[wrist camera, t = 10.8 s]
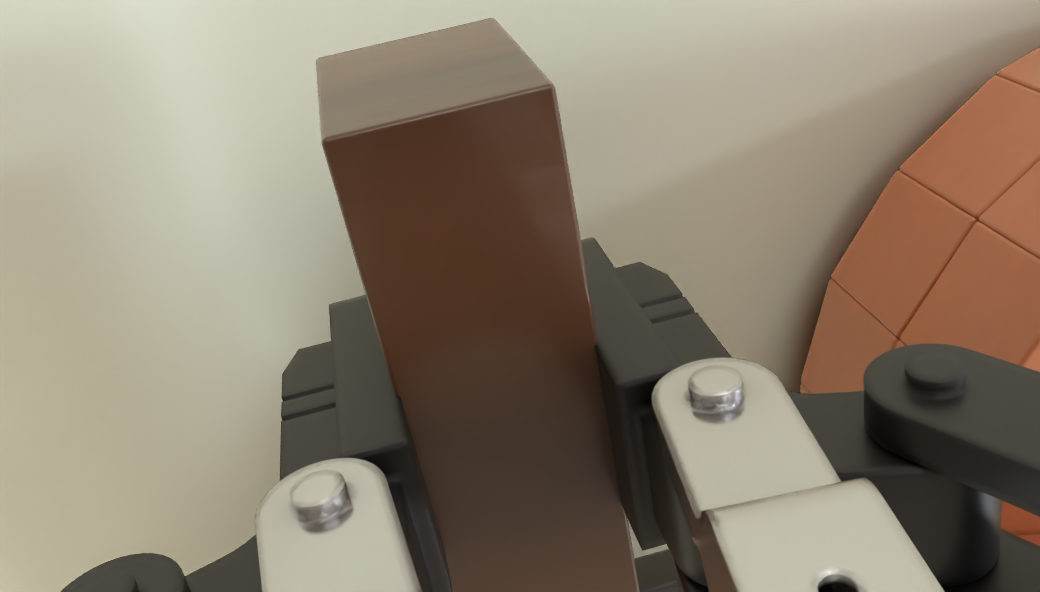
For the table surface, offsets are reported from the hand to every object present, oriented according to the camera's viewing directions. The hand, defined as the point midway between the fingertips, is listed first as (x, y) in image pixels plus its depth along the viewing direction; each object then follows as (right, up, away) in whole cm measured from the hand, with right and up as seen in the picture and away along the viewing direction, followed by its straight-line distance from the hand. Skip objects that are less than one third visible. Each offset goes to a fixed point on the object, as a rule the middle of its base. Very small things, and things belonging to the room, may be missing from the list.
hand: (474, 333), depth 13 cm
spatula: (+1, -4, +3) cm, 5 cm away
